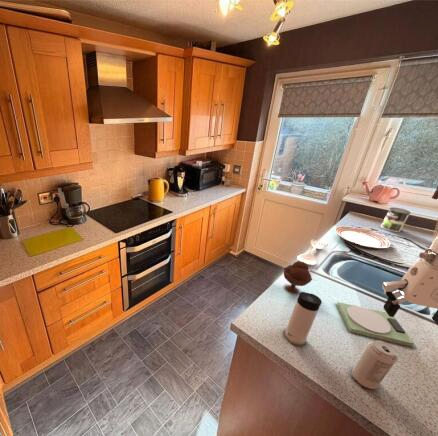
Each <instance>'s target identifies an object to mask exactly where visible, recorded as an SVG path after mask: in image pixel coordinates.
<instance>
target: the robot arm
mask: <svg viewBox="0 0 438 436" xmlns="http://www.w3.org/2000/svg"><path fill="white" fill-rule="evenodd" d="M418 257H419V259H418V260H416V262H414V263H413V264H412V265H411V266H410V268H409V269H408V270H407V271H406V272H405V273H404V275H403V276H402V277H401V278H400V280H392V281H383V282H382V283H381V286H382V292H383V293H384V294H385V295H386V297H387V299H386V301H385V303H384V304H383V310H384V312H387V314H388V315H389V316H390V317H395V316H396V315H397V313H398V311H399V310H400V308H401V305H400V304H402V303H405V302H408V303H410V304H413V305H416V306H422V307H427V308H430V309H431V308H432V309H436V310H435V312H434V314H433V315H432V317H431V320H432V321H433V322H434V323H435V324H436V325H437V326H438V234H437V235H436V237H435V238H434V240H433V242H432V243H431V245H430V247H429V248H428V250H427V251H426V252H420V253H419V255H418ZM394 289H395V290H394ZM393 290H394V291H393Z"/></svg>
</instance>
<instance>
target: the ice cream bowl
mask: <svg viewBox="0 0 438 436" xmlns="http://www.w3.org/2000/svg"><path fill="white" fill-rule="evenodd" d="M283 277H284V279H285V280H286V281H287V282H288V283H289V285H286V286H285V291H287V292H288V293H291V294H293V295H294V294H296V295H297V294H299V293H300V292H299V289H298V288H297V287H304V286H306V285H308V284H310V283H311V282H312V280H313V277H312V274H311V272H310V271H309V265H307V264H306V263H305V262H302V261H299V260H297V261H294V262H293V263H292V264H288V265H287V266H286V267H283ZM296 286H297V287H296Z"/></svg>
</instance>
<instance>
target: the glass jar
mask: <svg viewBox="0 0 438 436" xmlns="http://www.w3.org/2000/svg"><path fill="white" fill-rule="evenodd" d="M410 214H411V211H409V210H407V209H404V208H400V207H389V208H388V211H387V212H386V215H385V217H384V219H383V221H382V223H381V225H380V228H382V229H384V230H386V231H390V232H393V233H399V232H401V231H402V229H403V227H404V225H405V224H406V222H407V220H408V218H409V216H410Z"/></svg>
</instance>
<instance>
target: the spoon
mask: <svg viewBox="0 0 438 436" xmlns="http://www.w3.org/2000/svg"><path fill="white" fill-rule="evenodd" d="M317 242H318V243H317ZM314 244H315V245H314ZM310 245H311V246H312V247H311V248H309V249H310V251H309V252H306V253H301V254H298V255H297V256H296V259H297V261H302V262H305V263H306V264H307V265H308V266H315V265H316V264H317V262H318V261H317V258H316V257H315V255H314V252H315V253H316V252H317V250H322V249H325V248H327V246H328V245H329V243H324V242H322V243H321V242H320V241H317V240H315V239H314V238H313V237H312V238H311V239H310ZM302 255H303V256H302ZM301 256H302V257H301Z"/></svg>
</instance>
